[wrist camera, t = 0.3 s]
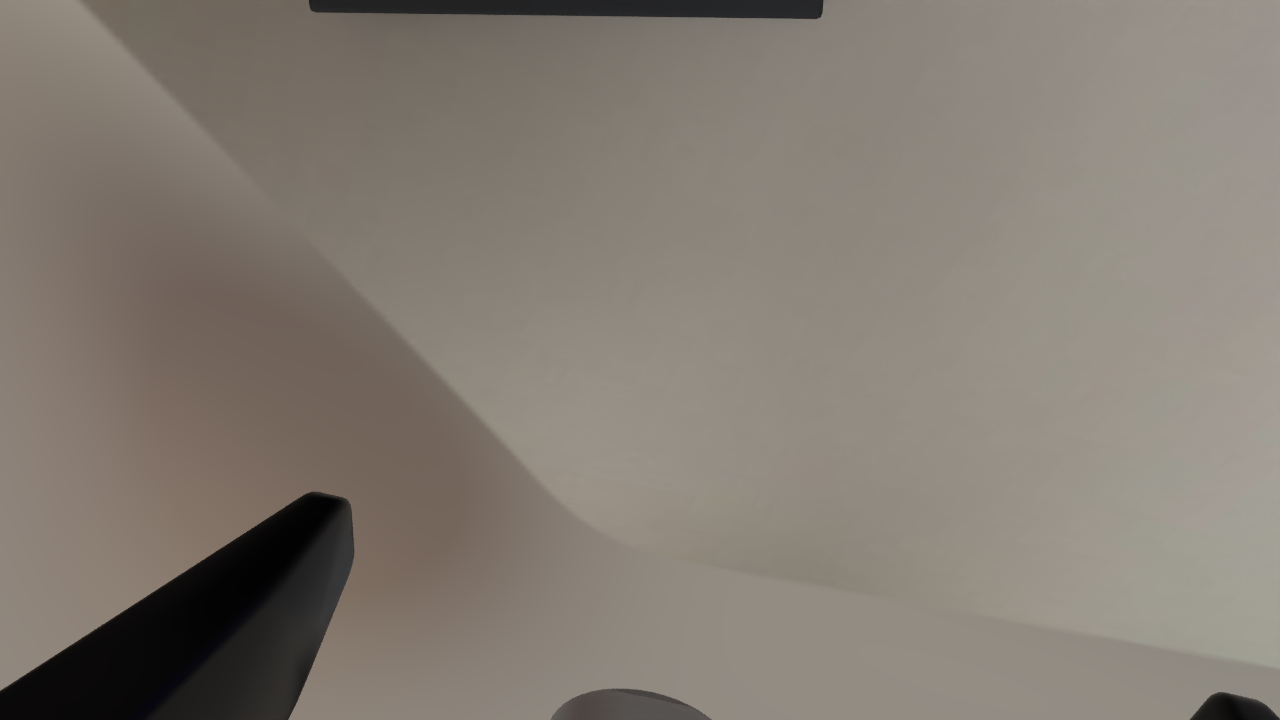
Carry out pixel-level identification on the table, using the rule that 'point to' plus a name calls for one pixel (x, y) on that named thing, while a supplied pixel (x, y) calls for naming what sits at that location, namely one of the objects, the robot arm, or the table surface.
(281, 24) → the table surface
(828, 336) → the table surface
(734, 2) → the socket pad
